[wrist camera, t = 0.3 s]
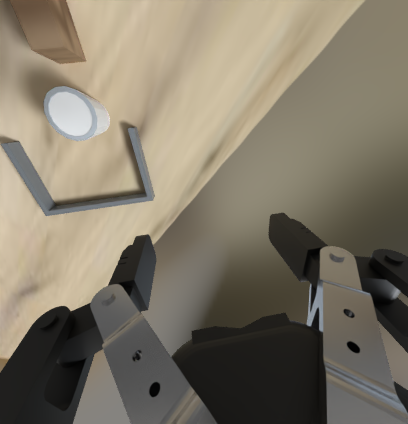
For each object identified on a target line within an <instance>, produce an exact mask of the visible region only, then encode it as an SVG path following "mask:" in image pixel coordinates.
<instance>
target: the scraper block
mask: <svg viewBox="0 0 408 424" xmlns="http://www.w3.org/2000/svg"><path fill="white" fill-rule="evenodd" d="M10 2H11V4H12V7H13V9H14V11H15V13H16V16H17V18H18V20H19V22H20V25H21V27H22V29H23V32H24V34H25V36H26V38H27V41H28V43H29V45H30V47H31V50H33V51H35V52H37V53H39V54H41V55H43V56H45V57H47V58H49V59H51V60H53V61H55V62H57V63H59V64H64V63H75V62H85V61H86V59H85V56H84V53H83V50H82V47H81V44H80V41H79V38H78V35H77V32H76V29H75V26H74V23H73V20H72V17H71V14H70V11H69V8H68V5H67V2H66V0H10Z"/></svg>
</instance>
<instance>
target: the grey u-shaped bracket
mask: <svg viewBox="0 0 408 424" xmlns="http://www.w3.org/2000/svg"><path fill="white" fill-rule="evenodd" d="M128 132H129V135H130V139H131V142H132V145H133V149H134V152H135V156H136V159H137V163H138V166H139V170H140V173H141V177H142V180H143V184H144V187H145V191H146V193H142V194H135V195H128V196H121V197H114V198H107V199H100V200H94V201H87V202H80V203H73V204H66V205H59V206H56V205H55V203H54V201H53V199H52V198H51V196H50V194H49V192H48V191H47V189H46V187H45V186H44V184H43V182H42V180H41V179H40V177H39V175H38V173H37V172H36V170H35V168H34V166H33V165H32V163H31V161H30V160H29V158H28V156H27V154H26V153H25V151H24V149H23V147H22V146H21V144H20V142H12V143H4V144H1V145H2V147H3V149H4V150H5V152H6V153H7V155H8V157H9V158H10V160H11V161H12V163H13V164H14V166H15V168H16V169H17V171H18V172H19V174H20V176H21V177H22V179H23V180H24V182H25V184H26V185H27V187H28V188H29V190H30V192H31V193H32V195H33V196H34V198H35V200H36V201H37V203H38V204H39V206H40V207H41V209H42V211H43V212H44V214H45V215H46V216H50V215H57V214H64V213H71V212H77V211H84V210H91V209H98V208H105V207H112V206H118V205H125V204H132V203H139V202H146V201H152V200H153V199H154V197H155V195H154V191H153V188H152V184H151V180H150V176H149V172H148V169H147V165H146V161H145V157H144V153H143V150H142V146H141V142H140V138H139V135H138V131H137V127H136V128H128Z"/></svg>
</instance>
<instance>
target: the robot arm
mask: <svg viewBox="0 0 408 424" xmlns="http://www.w3.org/2000/svg"><path fill="white" fill-rule="evenodd" d="M269 239H270V241H271V243H272V245H273V246H274V247H275V248H276V250H277V251H278V253H279V254H280V255H281V257H282V258H283V259H284V261H285V262H286V263H287V265H288V266H289V267H290V269H291V270H292V272H293V273H294V274H295V276H296V277H297V278H298V280H299V281H300V282H304V281H309V282H310V283H311V285H310V294H309V310H308V321H307V325H306V324H303V323H300V322H296V321H290V320H289V318H288V317H287V315H286V313H281V314H276V315H271V316H266V317H262V318H260V319H259V320H256V321H255V322H253V323H251V324H249V325H247V326H245V327H243V328H228V327H217V326H215V327H210V328H204V329H200V330H194V331H192V339H191V340H190V341H188V342H186V343H185V344H184V345H182V346H181V347H180V348H179V349H178V350H177V351H176V352H175V353H174V354H173V355H172V357H171V356H170V355H169V353H168V352H167V351H166V349H165V347H164V346H163V344H162V343H161V341H160V340H159V338H158V337H157V335H156V334H155V332H154V331H153V330H152V328H151V327H150V325H149V323H148V322H147V321H146V319H145V318H144V316H143V315H142V313H141V311H145V310H148V307H149V301H150V295H151V289H152V283H153V277H154V271H155V265H156V254H155V250H154V247H153V244H152V241H151V238H150V236H149V235H141V236H136V237H135V240H134V243H133V245H129V246H128V247H127V248H126V249H125V250H124V251H123V252H122V255H121V257H120V260H119V261H118V265H117V266H116V268H115V271H114V273H113V275H112V278H111V280H110V282H109V284H108V286H107V287H105V288H103V289H101V290H100V291H99V292H98V293H97V294H96V295H95V296H94V297H93V299H92V301H91V303H89V304H87V305H85V306H82V307H80V308H78V309H76V310H73V311H70V310H69V309H68V307H66V306H59V307H56V308H53V309H51V310H49V311H48V312H46V313H45V314H43V315H42V316H41V317H39V318H38V319H37V320H36V321H35V322H34V324H33V325H32V326H31V328H30V329H29V331H28V332H27V334H26V335H25V337H24V338H23V340H22V341H21V343H20V344H19V346H18V347H17V349H16V350H15V352H14V353H13V355H12V356H11V358H10V359H9V361H8V362H7V364H6V365H5V367H4V368H3V370H2V371H1V373H0V424H73V421H74V417H75V414H76V411H77V408H78V405H79V401H80V398H81V395H82V392H83V389H84V386H85V382H86V379H87V376H88V373H89V370H90V367H91V364H92V361H93V357H94V354H95V353H97V352H98V351H100V350H102V349H103V350H104V353H105V356H106V358H107V361H108V364H109V366H110V369H111V372H112V374H113V377H114V380H115V382H116V385H117V388H118V390H119V393H120V396H121V398H122V401H123V404H124V406H125V409H126V412H127V415H128V417H129V419H130V423H131V424H408V390H406V389H405V388H403V387H402V386H400V385H399V384H397V383H396V382H394V381H393V379H392V375H391V371H390V367H389V363H388V359H387V356H386V352H385V348H384V344H383V340H382V336H381V332H380V328H379V324H378V321H379V322H380V323H381V324H382V326H383V327H384V328H385V329H386V330H387V331H388V332H389V333H390V334H391V335H392V336H393V337H394V339H395V340H396V341H397V342H398V343H399V344H400V345H401V346H402V347H403V348H404V349H405V351H406V352H407V353H408V306H407V305H405V304H404V303H403V302H402V301H401V300H399V299H398V298H397V296H398V295H399V293H400V292H402V293H403V294H404V295H406V296H407V297H408V257H407V256H405V255H403V254H401V253H399V252H396V251H392V250H387V249H378V250H375V251H374V252H373V254H372V256H371V257H358V256H353V255H352V254H351V253H349V252H348V251H346V250H344V249H342V248H338V247H334V246H328V245H327V244H325V243H324V242H323V241H322V240H321V239H319V238H318V237H317V236H316V235H315V234H314V233H312V232H311V231H310V230H309V229H308V228H306V227H305V226H304V225H303V224H302V223H301V222H299V221H296V220H294V219H290V218H289V217H288V216H287V215H286V214H285V213H278V214H272V215H271V216H270V224H269Z"/></svg>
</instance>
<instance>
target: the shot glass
mask: <svg viewBox="0 0 408 424" xmlns="http://www.w3.org/2000/svg"><path fill="white" fill-rule="evenodd" d="M44 112H45V115H46V117H47V119H48V121H49V123H50V124H51V125H52V127H53V128H54V129H55V130H56V131H57V132H58V133H60V134H61V135H63V136H64V137H66V138H68V139H72V140H75V141H82V140H87V139H90V138H92V137H94V136H97V135H99V134H101V133H103V132H105V131H106V130H107V129H108V127H109V125H110V117H109V114H108V111H107V110H106V108H105V107H104V106H103V105H102V104H101V103H100V102H99V101H97V100H95V99H93V98H91V97H89V96H88V95H86V94H84V93H82V92H80V91H78V90H75V89H72V88H69V87H66V86H61V87H54V88H53V89H51V90H50V91H49V92H47V94H46V97H45V99H44Z"/></svg>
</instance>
